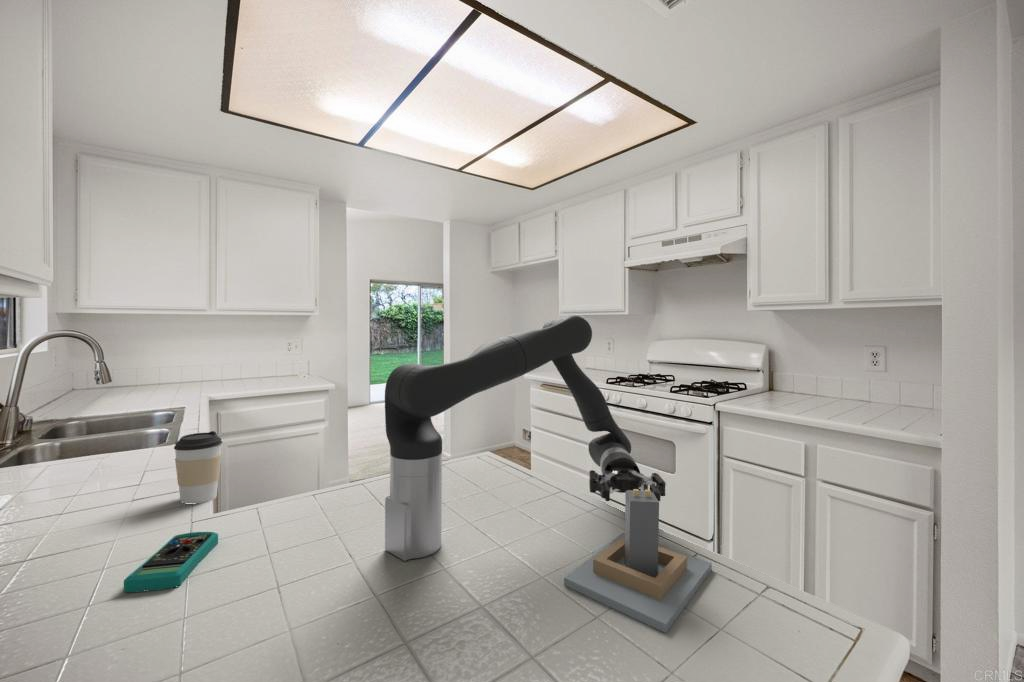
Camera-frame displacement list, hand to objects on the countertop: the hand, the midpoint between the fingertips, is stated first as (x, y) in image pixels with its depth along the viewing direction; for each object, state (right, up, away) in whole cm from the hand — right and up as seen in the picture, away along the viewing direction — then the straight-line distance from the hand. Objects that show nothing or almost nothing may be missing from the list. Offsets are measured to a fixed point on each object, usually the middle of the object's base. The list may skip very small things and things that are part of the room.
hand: (631, 497), depth 78 cm
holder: (-1, -10, -8) cm, 13 cm away
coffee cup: (-94, -8, +21) cm, 97 cm away
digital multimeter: (-78, -10, -6) cm, 78 cm away
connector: (-1, -9, -8) cm, 12 cm away
